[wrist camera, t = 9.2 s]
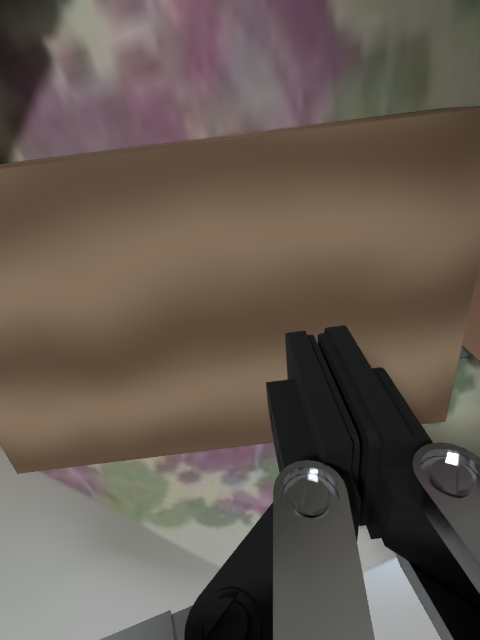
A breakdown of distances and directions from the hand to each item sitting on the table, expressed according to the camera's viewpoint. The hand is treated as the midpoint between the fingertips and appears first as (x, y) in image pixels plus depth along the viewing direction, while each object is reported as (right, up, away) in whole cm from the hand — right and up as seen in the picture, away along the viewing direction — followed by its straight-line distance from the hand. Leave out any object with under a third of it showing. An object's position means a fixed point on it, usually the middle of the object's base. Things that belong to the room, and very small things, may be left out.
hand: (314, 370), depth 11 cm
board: (-4, +3, +8) cm, 10 cm away
